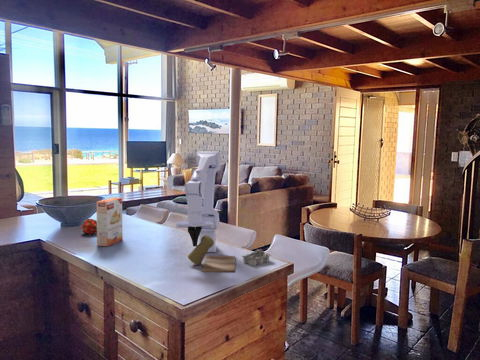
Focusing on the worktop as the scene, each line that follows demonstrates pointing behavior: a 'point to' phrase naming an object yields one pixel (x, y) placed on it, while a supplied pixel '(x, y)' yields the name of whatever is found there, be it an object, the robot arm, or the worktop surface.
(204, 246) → the cork
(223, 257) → the board
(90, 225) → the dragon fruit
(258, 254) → the egg carton
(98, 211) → the cracker box
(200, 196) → the robot arm
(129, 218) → the worktop surface
